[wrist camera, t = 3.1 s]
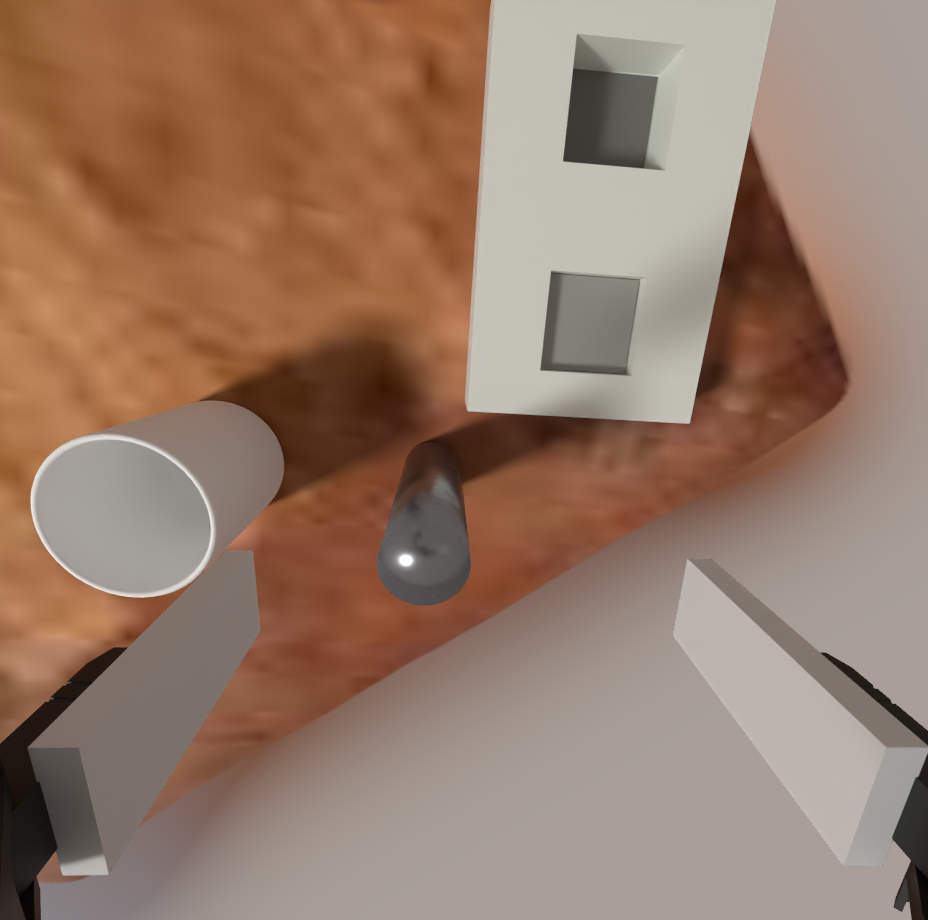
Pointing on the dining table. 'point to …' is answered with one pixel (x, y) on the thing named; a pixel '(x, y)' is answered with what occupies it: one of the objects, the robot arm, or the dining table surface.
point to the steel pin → (426, 529)
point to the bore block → (607, 200)
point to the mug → (156, 496)
